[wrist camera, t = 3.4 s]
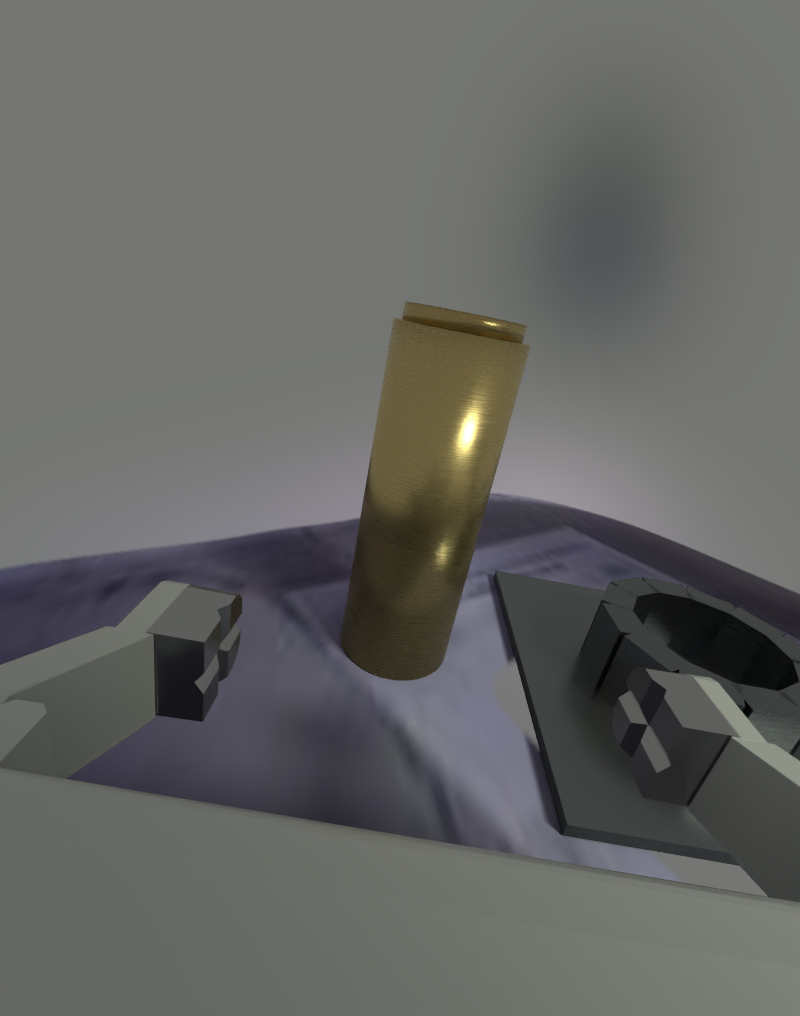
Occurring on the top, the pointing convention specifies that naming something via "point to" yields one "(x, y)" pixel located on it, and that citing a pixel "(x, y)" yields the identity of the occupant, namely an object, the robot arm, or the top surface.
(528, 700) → the square socket base
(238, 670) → the top surface
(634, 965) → the robot arm
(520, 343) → the cylinder
